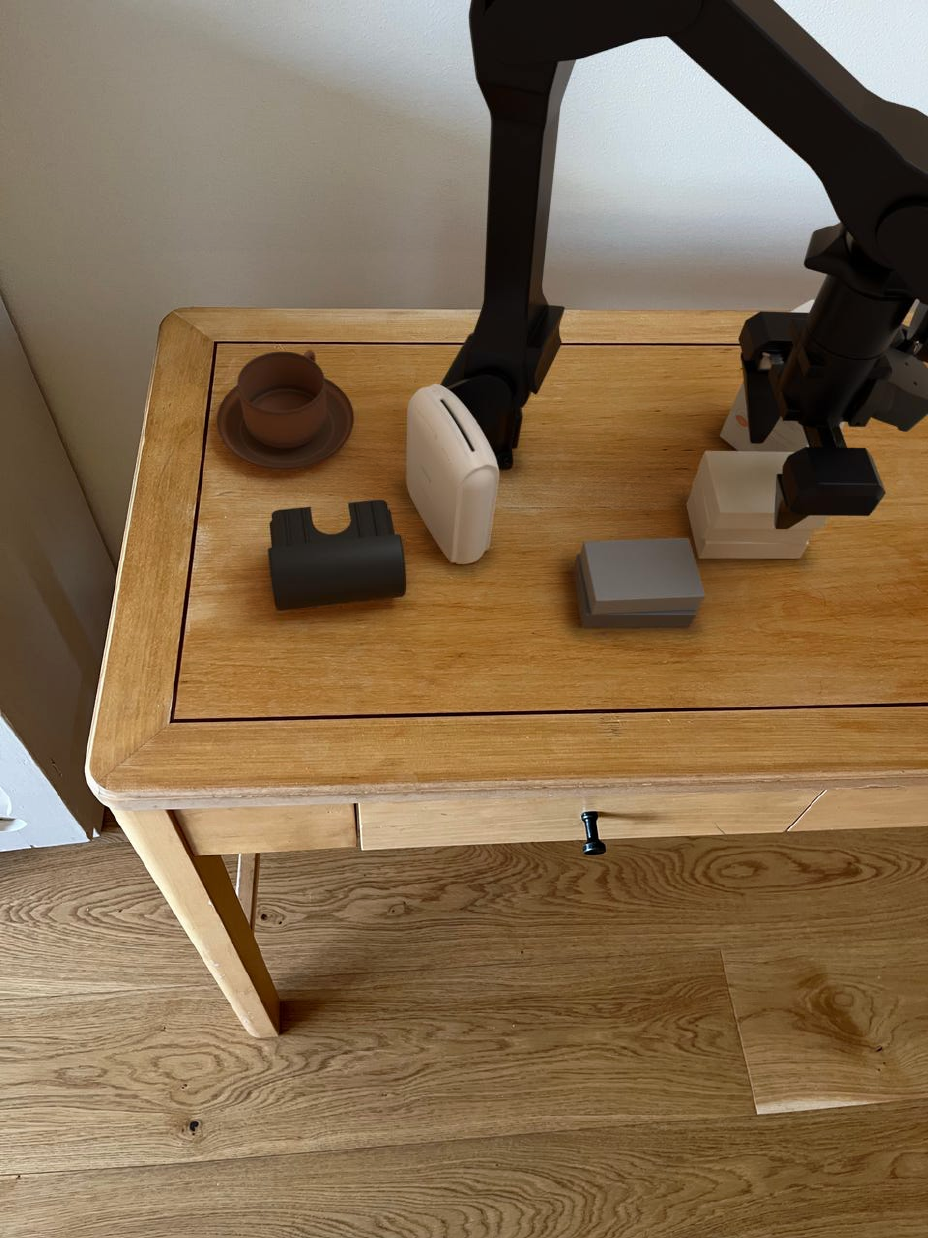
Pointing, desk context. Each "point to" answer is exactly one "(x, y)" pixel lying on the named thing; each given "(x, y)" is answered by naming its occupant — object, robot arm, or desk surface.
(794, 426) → the small box
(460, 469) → the photo printer
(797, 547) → the white books
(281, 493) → the desk surface
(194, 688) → the desk surface
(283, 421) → the cup and saucer
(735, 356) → the desk surface
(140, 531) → the desk surface
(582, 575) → the grey books
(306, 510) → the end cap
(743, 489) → the white book
